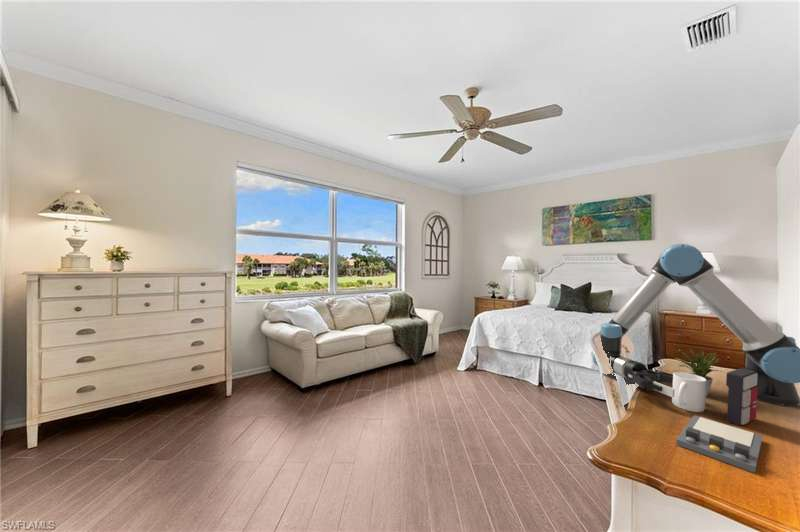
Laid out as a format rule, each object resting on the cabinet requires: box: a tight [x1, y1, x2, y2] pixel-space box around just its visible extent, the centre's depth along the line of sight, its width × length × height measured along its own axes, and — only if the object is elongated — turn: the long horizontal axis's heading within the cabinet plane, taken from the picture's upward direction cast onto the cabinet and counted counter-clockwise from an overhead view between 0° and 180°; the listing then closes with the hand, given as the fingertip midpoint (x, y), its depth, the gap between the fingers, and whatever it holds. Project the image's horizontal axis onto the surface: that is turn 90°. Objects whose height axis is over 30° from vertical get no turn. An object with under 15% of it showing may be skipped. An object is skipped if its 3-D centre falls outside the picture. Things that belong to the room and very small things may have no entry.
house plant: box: [674, 348, 723, 397], centre depth 121 cm, size 14×14×16 cm
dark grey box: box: [725, 367, 758, 427], centre depth 100 cm, size 11×4×15 cm, turn 117°
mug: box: [671, 371, 707, 413], centre depth 107 cm, size 12×8×10 cm
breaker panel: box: [676, 415, 763, 474], centre depth 87 cm, size 22×14×4 cm, turn 129°
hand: (690, 391), depth 106 cm, fingers open, 13 cm apart
